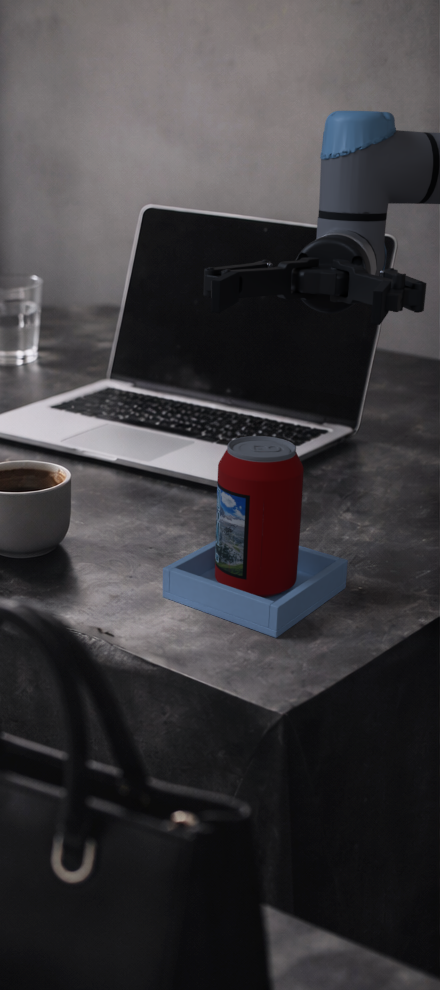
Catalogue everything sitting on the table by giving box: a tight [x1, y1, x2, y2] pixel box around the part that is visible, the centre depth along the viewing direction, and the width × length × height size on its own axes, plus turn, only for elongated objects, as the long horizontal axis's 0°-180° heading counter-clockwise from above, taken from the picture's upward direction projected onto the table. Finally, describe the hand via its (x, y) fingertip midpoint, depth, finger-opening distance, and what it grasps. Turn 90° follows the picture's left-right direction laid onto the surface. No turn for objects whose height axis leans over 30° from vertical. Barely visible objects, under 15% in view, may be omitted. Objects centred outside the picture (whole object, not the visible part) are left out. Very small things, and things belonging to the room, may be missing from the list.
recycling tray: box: [162, 539, 349, 639], centre depth 80 cm, size 11×11×3 cm
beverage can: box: [215, 435, 305, 598], centre depth 78 cm, size 7×7×12 cm
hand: (294, 302), depth 81 cm, fingers open, 13 cm apart
